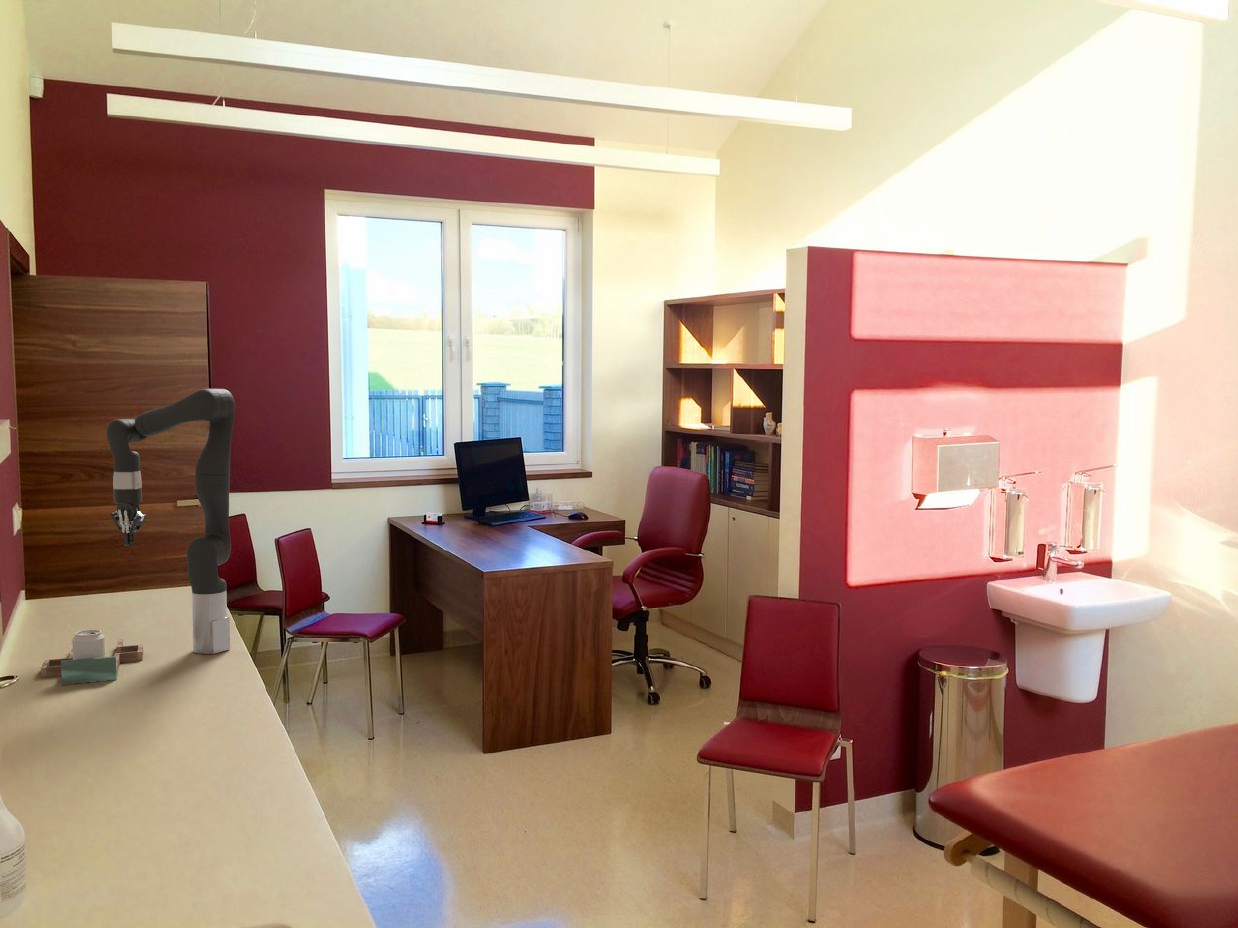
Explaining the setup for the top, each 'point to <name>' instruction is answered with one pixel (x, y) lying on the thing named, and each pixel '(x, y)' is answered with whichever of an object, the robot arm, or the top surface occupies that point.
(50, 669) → the trap channel
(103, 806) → the top surface
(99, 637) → the can
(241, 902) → the top surface
